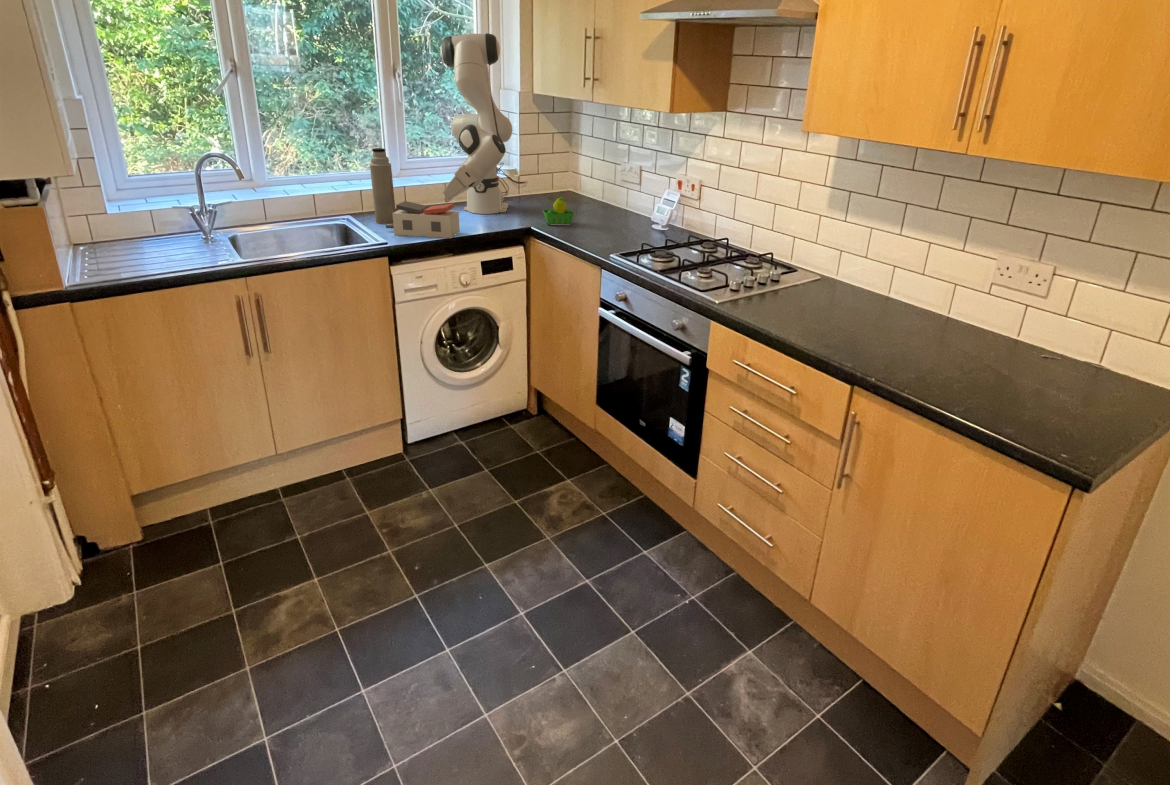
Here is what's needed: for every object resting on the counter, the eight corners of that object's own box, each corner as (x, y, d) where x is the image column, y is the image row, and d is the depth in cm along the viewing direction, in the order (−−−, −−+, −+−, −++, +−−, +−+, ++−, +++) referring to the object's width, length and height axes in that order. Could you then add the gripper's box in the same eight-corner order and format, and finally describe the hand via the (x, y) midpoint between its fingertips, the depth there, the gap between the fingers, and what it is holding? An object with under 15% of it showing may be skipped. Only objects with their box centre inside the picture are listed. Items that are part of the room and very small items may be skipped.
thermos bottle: (398, 219, 288) (391, 147, 276) (393, 224, 281) (386, 150, 269) (379, 219, 288) (371, 147, 276) (373, 223, 281) (365, 149, 269)
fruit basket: (570, 221, 291) (570, 193, 286) (575, 226, 283) (575, 197, 278) (542, 222, 288) (542, 194, 284) (546, 227, 281) (546, 198, 276)
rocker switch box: (392, 228, 275) (390, 207, 271) (459, 232, 271) (458, 210, 268) (381, 234, 266) (379, 212, 262) (450, 238, 262) (449, 216, 259)
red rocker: (432, 211, 268) (431, 206, 268) (454, 208, 266) (453, 203, 266) (424, 215, 261) (423, 210, 260) (447, 213, 259) (446, 207, 259)
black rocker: (404, 206, 269) (404, 200, 268) (427, 211, 269) (427, 206, 268) (396, 210, 262) (396, 204, 261) (419, 215, 262) (419, 210, 261)
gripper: (473, 163, 264) (449, 189, 270) (455, 171, 246) (430, 199, 252) (485, 176, 266) (461, 201, 271) (468, 185, 248) (443, 212, 253)
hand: (446, 200), depth 262 cm, fingers closed
